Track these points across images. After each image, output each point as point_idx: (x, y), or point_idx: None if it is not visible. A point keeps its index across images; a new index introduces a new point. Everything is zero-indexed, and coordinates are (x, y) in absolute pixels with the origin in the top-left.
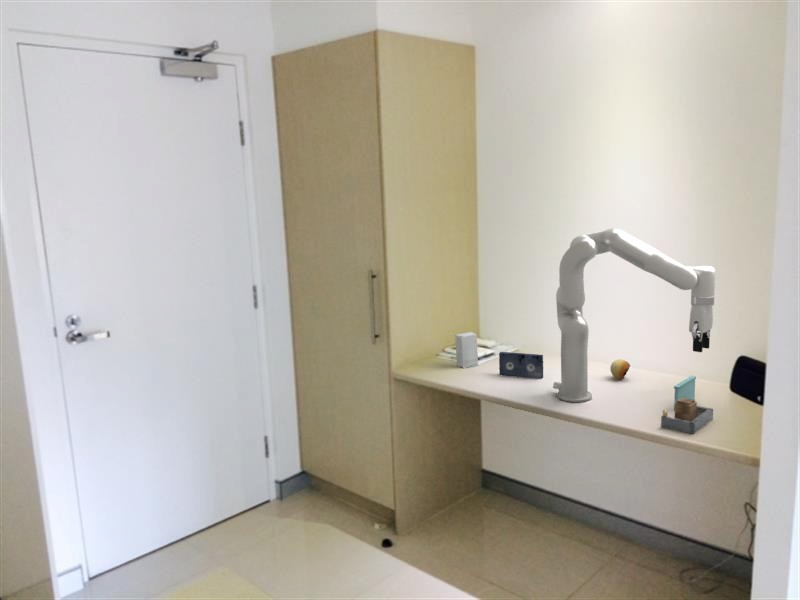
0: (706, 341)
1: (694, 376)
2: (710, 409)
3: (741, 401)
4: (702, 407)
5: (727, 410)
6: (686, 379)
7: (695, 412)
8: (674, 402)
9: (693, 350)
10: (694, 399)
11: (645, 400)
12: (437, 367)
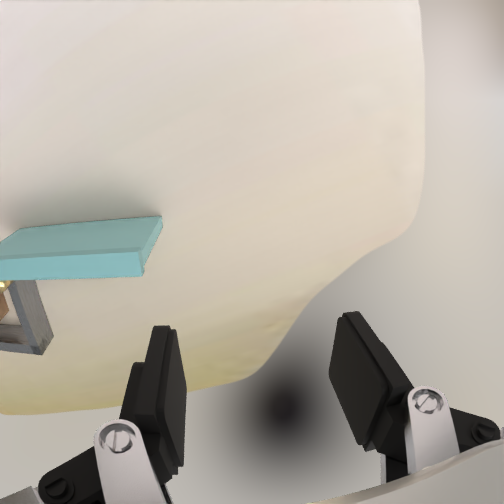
0: (350, 410)
1: (137, 269)
2: (34, 350)
3: (257, 343)
4: (27, 330)
5: (144, 343)
6: (63, 261)
7: None
8: (4, 239)
9: (154, 333)
10: (161, 227)
11: (46, 91)
12: None
